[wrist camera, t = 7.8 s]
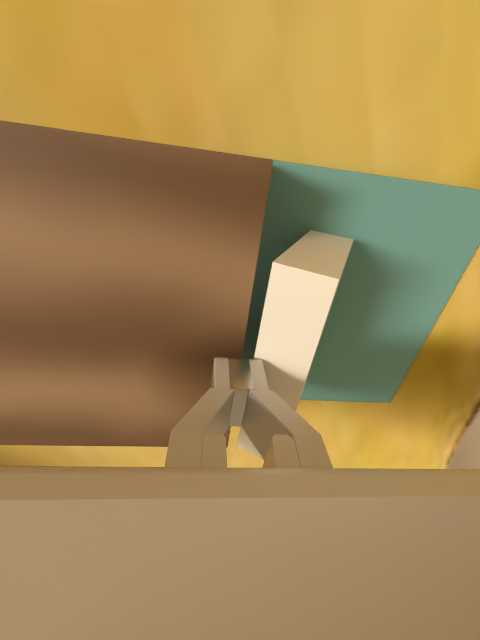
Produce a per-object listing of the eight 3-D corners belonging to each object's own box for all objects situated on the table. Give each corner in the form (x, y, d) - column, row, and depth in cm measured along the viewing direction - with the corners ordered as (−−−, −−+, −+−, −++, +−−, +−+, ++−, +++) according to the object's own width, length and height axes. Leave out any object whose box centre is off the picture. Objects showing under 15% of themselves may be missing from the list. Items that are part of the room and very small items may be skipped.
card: (272, 261, 8) (339, 279, 8) (310, 230, 13) (353, 239, 13) (236, 446, 13) (277, 465, 12) (275, 372, 18) (305, 383, 17)
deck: (-256, 84, 10) (-519, 45, 6) (256, 157, 12) (272, 159, 8) (-73, 383, 17) (-148, 443, 13) (225, 394, 19) (227, 447, 15)
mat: (256, 157, 12) (257, 157, 12) (501, 193, 13) (507, 193, 13) (225, 394, 19) (225, 397, 19) (387, 399, 20) (389, 402, 20)
